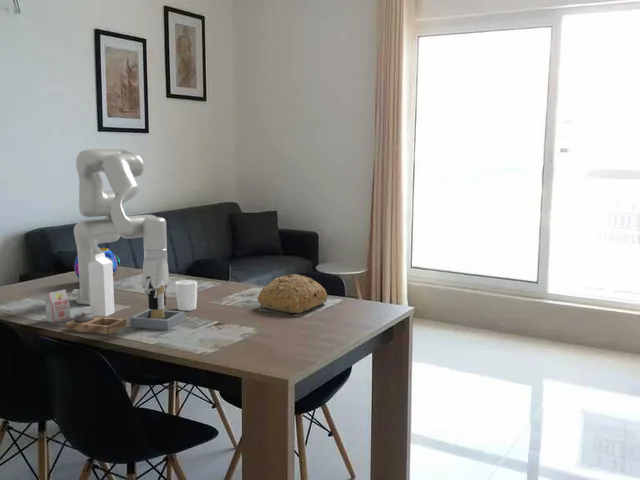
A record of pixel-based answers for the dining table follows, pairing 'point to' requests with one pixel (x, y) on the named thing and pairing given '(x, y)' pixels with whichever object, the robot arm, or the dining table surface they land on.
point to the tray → (157, 320)
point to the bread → (292, 294)
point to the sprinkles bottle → (159, 304)
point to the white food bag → (57, 306)
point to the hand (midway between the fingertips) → (157, 306)
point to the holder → (95, 324)
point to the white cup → (186, 294)
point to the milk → (101, 286)
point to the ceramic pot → (108, 255)
